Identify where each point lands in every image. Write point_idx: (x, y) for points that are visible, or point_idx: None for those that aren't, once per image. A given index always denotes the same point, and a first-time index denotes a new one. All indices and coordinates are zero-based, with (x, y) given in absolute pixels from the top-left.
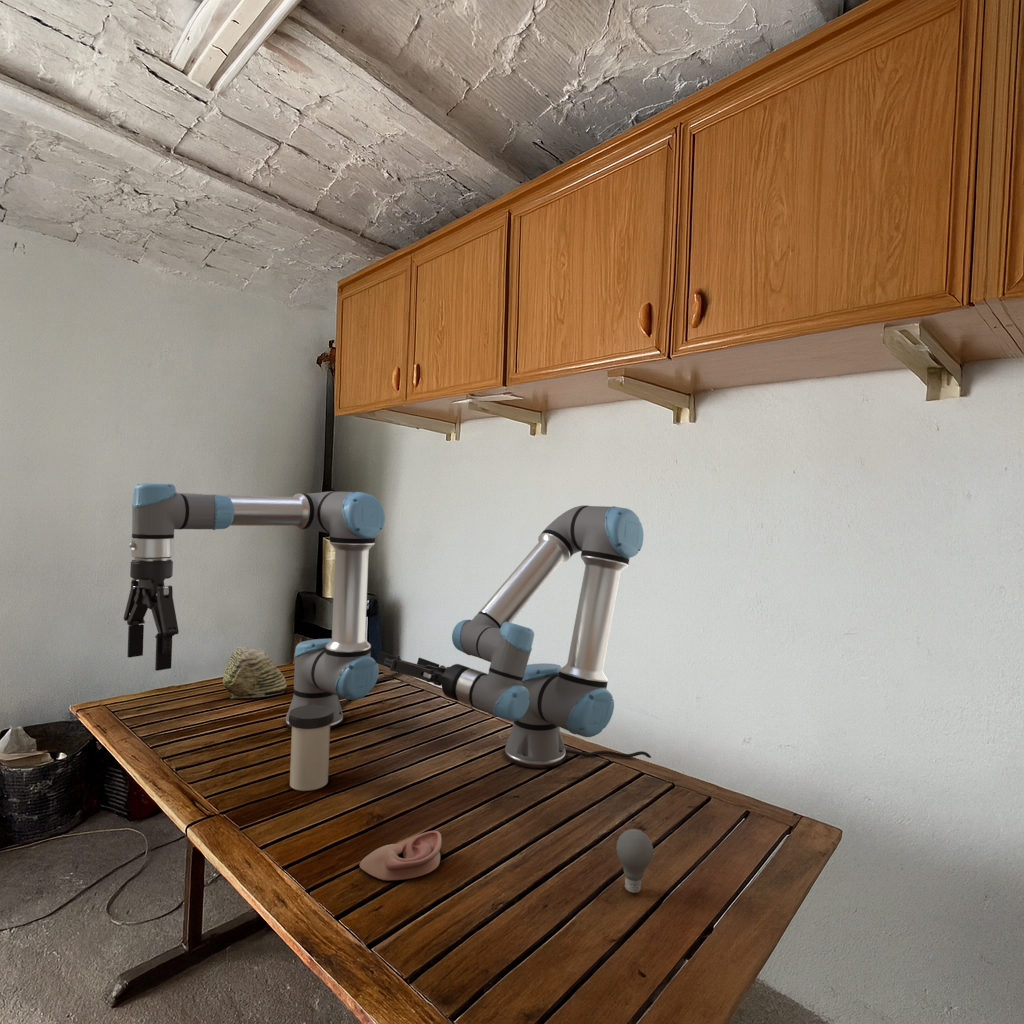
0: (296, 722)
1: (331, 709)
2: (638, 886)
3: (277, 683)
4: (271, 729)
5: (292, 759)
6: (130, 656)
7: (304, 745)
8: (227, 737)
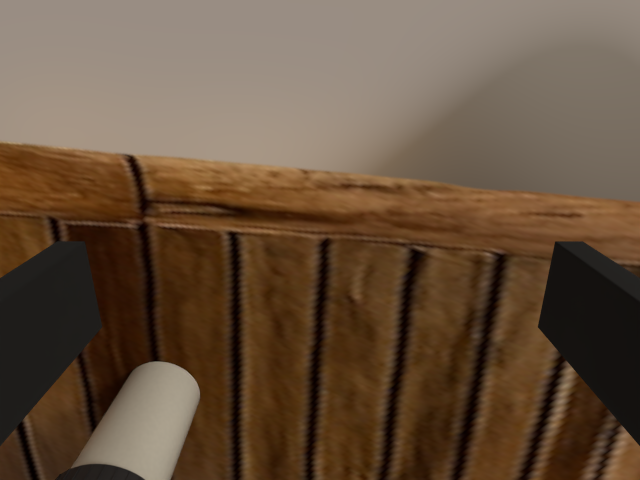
0: (72, 477)
1: None
2: None
3: None
4: (462, 467)
5: (141, 402)
6: (555, 254)
7: (91, 439)
8: (497, 394)
